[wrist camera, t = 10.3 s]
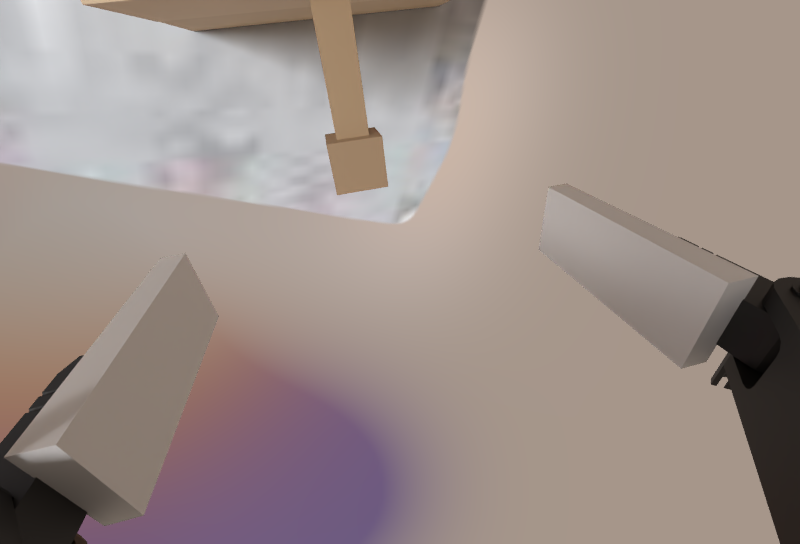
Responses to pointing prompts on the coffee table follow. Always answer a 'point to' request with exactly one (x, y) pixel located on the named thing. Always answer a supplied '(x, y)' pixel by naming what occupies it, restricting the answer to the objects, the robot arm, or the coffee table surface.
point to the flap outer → (331, 9)
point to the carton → (294, 14)
